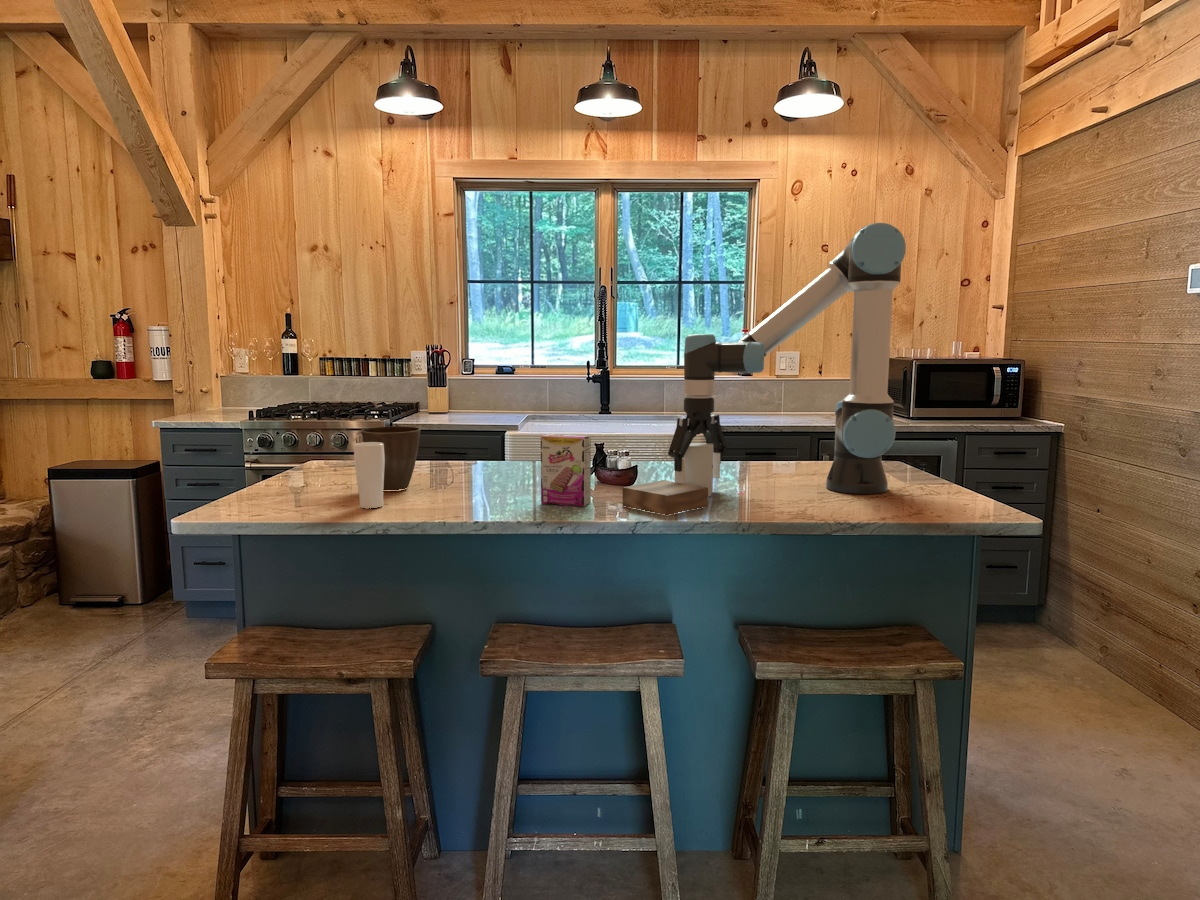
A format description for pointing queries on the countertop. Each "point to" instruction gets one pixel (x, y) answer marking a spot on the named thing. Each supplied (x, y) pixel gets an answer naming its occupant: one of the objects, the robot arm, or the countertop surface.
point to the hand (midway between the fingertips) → (697, 481)
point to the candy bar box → (565, 469)
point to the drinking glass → (370, 473)
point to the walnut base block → (665, 497)
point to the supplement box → (700, 465)
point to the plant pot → (396, 452)
